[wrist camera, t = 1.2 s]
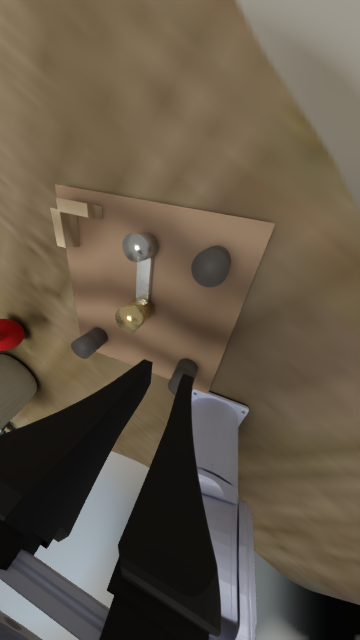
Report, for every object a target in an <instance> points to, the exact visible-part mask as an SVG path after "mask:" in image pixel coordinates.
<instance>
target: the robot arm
mask: <svg viewBox="0 0 360 640" xmlns="http://www.w3.org/2000/svg"><path fill="white" fill-rule="evenodd" d="M152 365H153V362H151V361H148V360H145V359H143V360H142V361H140V362H139V363H138V364H137V365H135V366H134V367H133V368H131V369H130V370H129V371H127V372H126V373H124V374H123V375H122V376H120V377H119V378H117V379H116V380H114V381H113V382H111V383H110V384H108V385H107V386H105V387H103V388H102V389H100V390H99V391H97V392H95V393H94V394H92V395H90V396H88V397H86V398H85V399H83V400H81V401H79V402H77V403H75V404H73V405H71V406H69V407H67V408H65V409H63V410H61V411H59V412H57V413H54V414H52V415H50V416H47V417H45V418H43V419H40V420H38V421H36V422H33V423H31V424H28V425H26V426H23V427H21V428H18V429H15V430H13V431H10V432H7V433H5V434H2V435H0V579H1V580H2V581H3V582H5V583H6V584H7V585H9V586H10V587H12V588H13V589H14V590H15V591H16V592H18V593H19V594H21V595H22V596H23V597H24V598H26V599H27V600H28V601H30V602H31V603H32V604H34V605H35V606H36V607H38V608H39V609H40V610H41V611H43V612H44V613H45V614H47V615H48V616H49V617H50V618H52V619H53V620H54V621H56V622H57V623H58V624H60V625H61V626H62V627H64V628H65V629H66V630H67V631H69V632H70V633H71V634H73V635H74V636H75V637H77V638H78V639H79V640H255V626H256V624H257V614H256V591H255V568H254V546H253V525H252V513H251V512H250V510H249V508H247V504H246V503H245V502H243V501H240V505H239V496H238V427H239V425H240V424H241V422H242V421H243V419H244V418H245V416H246V415H247V413H248V412H249V408H248V407H247V406H245V405H242V404H240V403H237V402H234V401H232V400H229V399H226V398H224V397H221V396H218V395H216V394H213V393H210V392H208V394H206V393H203V392H201V391H198V390H195V389H193V390H192V387H193V381H194V378H193V377H191V376H189V375H186V374H183V375H182V378H181V380H180V382H179V385H178V389H177V392H176V396H175V399H174V403H173V406H172V410H171V413H170V417H169V420H168V423H167V426H166V428H165V431H164V433H163V436H162V439H161V441H160V444H159V446H158V449H157V451H156V454H155V456H154V459H153V461H152V464H151V466H150V469H149V471H148V474H147V476H146V478H145V481H144V483H143V486H142V488H141V491H140V493H139V496H138V498H137V500H136V503H135V505H134V508H133V510H132V513H131V515H130V517H129V520H128V523H127V525H126V527H125V529H124V532H123V534H122V537H121V539H120V541H119V544H118V549H119V559H118V561H117V564H116V566H115V569H114V572H113V574H112V577H111V580H110V583H109V585H108V588H107V591H108V592H110V593H111V594H113V595H114V598H113V601H112V604H111V607H110V609H109V608H108V607H106V606H105V605H103V604H102V603H101V602H99V601H98V600H96V599H95V598H93V597H92V596H91V595H89V594H88V593H86V592H85V591H83V590H82V589H81V588H79V587H77V586H76V585H75V584H73V583H72V582H71V581H69V580H68V579H66V578H65V577H63V576H62V575H60V574H59V573H57V572H56V571H55V570H53V569H52V568H51V567H49V566H47V565H46V564H45V563H43V562H42V561H41V560H39V559H38V558H36V557H34V554H35V552H36V551H37V549H38V547H39V546H40V545H42V546H43V547H45V548H46V549H47V548H48V546H49V545H50V543H51V541H52V540H53V539H55V540H56V541H58V542H59V541H61V540H63V539H65V538H66V537H68V536H69V534H70V532H71V530H72V528H73V526H74V524H75V522H76V520H77V518H78V515H79V513H80V511H81V509H82V507H83V505H84V503H85V500H86V499H87V497H88V495H89V493H90V491H91V489H92V487H93V485H94V483H95V481H96V479H97V477H98V475H99V473H100V471H101V469H102V467H103V465H104V463H105V461H106V459H107V457H108V455H109V453H110V452H111V450H112V448H113V446H114V444H115V442H116V440H117V439H118V437H119V435H120V434H121V432H122V430H123V429H124V427H125V426H126V424H127V423H128V421H129V419H130V418H131V416H132V415H133V413H134V412H135V410H136V409H137V407H138V405H139V404H140V402H141V401H142V399H143V397H144V395H145V393H146V391H147V389H148V387H149V385H150V383H151V374H152ZM0 640H42V639H41V638H39V637H38V636H37V635H35V634H34V633H32V632H31V631H29V630H28V629H27V628H25V627H24V626H22V625H21V624H19V623H18V622H16V621H15V620H13V619H12V618H10V617H9V616H7V615H6V614H4V613H2V612H1V611H0Z"/></svg>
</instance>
